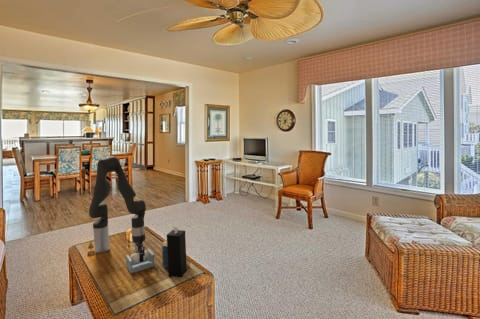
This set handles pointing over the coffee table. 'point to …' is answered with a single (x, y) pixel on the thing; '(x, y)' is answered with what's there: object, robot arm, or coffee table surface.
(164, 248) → the canister
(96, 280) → the coffee table surface
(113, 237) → the coffee table surface
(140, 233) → the robot arm
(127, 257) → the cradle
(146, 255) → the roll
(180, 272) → the long black block
